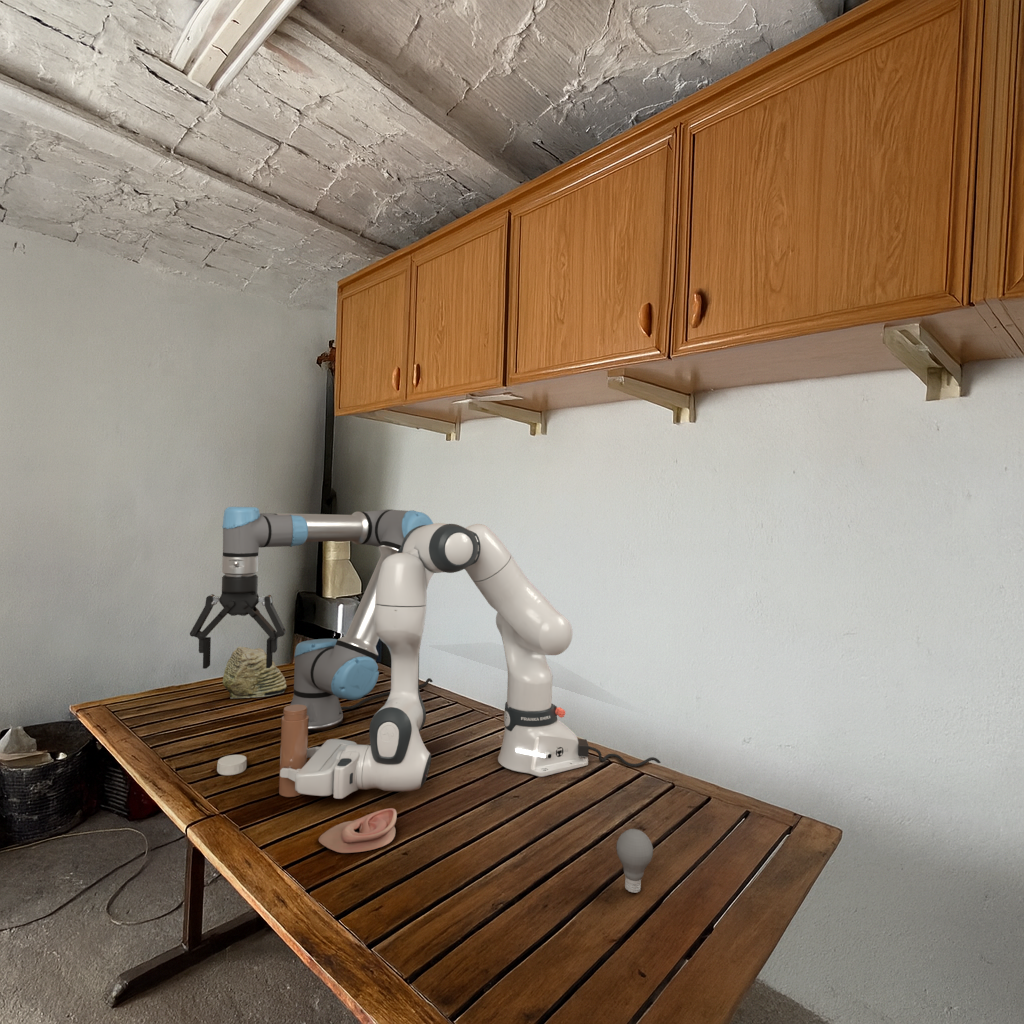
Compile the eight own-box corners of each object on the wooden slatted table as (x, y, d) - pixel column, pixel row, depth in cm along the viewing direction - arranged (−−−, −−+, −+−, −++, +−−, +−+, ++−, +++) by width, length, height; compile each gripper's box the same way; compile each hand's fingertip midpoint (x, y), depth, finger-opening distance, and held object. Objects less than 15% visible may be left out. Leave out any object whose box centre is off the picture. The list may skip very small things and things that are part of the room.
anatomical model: (310, 826, 114) (340, 797, 125) (309, 848, 114) (339, 817, 125) (379, 837, 111) (403, 806, 122) (378, 859, 111) (403, 827, 123)
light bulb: (610, 879, 108) (613, 822, 108) (644, 879, 109) (647, 822, 109) (619, 902, 102) (622, 840, 102) (655, 901, 103) (658, 840, 103)
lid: (225, 777, 141) (226, 767, 141) (212, 769, 144) (212, 759, 144) (251, 769, 145) (252, 759, 145) (237, 761, 149) (238, 752, 149)
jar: (301, 783, 140) (304, 702, 139) (309, 793, 135) (312, 709, 135) (275, 788, 136) (278, 706, 136) (282, 799, 132) (286, 713, 132)
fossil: (218, 695, 195) (220, 647, 195) (278, 685, 208) (279, 640, 207) (228, 703, 189) (230, 653, 188) (289, 692, 201) (290, 645, 201)
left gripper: (175, 575, 139) (173, 671, 139) (294, 577, 143) (291, 670, 143) (187, 571, 146) (185, 662, 147) (299, 573, 150) (297, 661, 151)
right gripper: (367, 733, 145) (308, 730, 146) (339, 771, 125) (271, 767, 126) (366, 760, 146) (307, 757, 146) (338, 803, 125) (269, 798, 126)
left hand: (238, 666), depth 145 cm, fingers open, 13 cm apart
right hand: (290, 762), depth 136 cm, fingers open, 8 cm apart
